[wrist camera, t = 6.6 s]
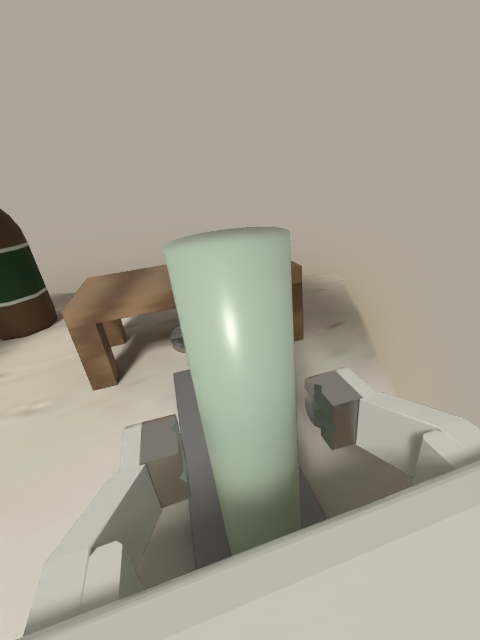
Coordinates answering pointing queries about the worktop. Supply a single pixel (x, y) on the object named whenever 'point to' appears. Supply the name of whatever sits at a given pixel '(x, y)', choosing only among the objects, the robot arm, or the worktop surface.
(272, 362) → the cylinder
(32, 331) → the beer bottle
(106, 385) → the bench
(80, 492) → the worktop surface
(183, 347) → the silver flat disc
